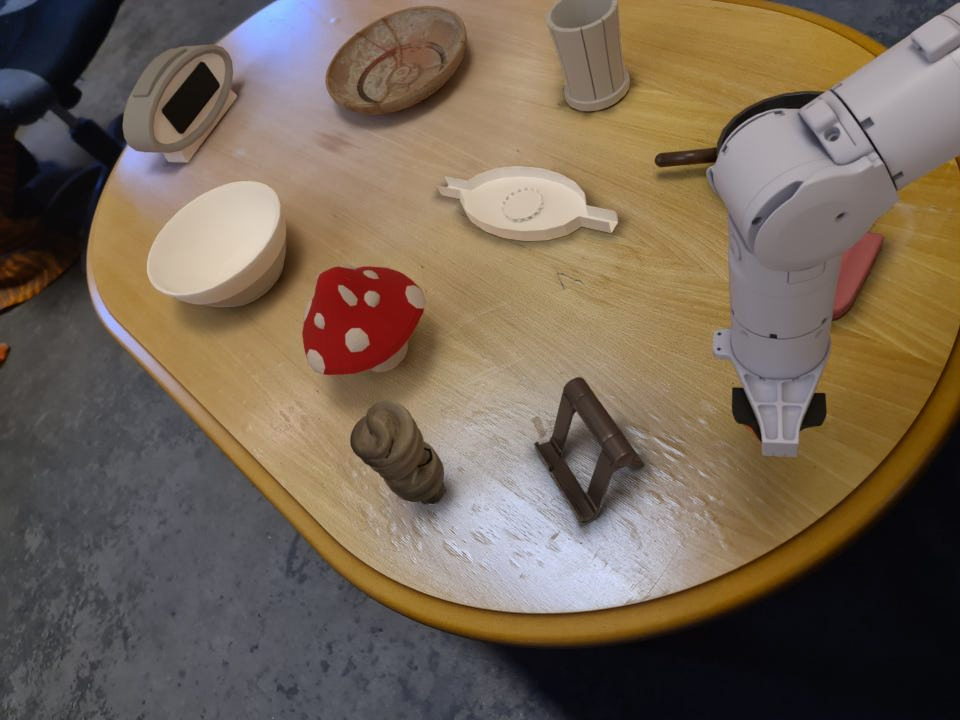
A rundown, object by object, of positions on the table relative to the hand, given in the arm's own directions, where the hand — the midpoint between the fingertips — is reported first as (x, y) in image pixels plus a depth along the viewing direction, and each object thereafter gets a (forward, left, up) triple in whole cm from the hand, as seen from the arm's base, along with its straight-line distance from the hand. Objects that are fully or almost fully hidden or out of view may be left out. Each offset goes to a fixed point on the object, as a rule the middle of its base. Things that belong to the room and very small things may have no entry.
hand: (774, 409), depth 52 cm
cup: (+22, -54, -10) cm, 59 cm away
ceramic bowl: (+53, -63, -10) cm, 83 cm away
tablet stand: (+15, +1, -10) cm, 18 cm away
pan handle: (+8, -36, -8) cm, 38 cm away
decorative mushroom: (+40, -11, -10) cm, 43 cm away
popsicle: (-7, -22, -10) cm, 25 cm away
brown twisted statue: (+30, +5, -10) cm, 32 cm away
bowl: (+66, -24, -10) cm, 71 cm away
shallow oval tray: (+28, -33, -10) cm, 44 cm away
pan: (-3, -36, -10) cm, 37 cm away
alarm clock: (+91, -58, -10) cm, 108 cm away
